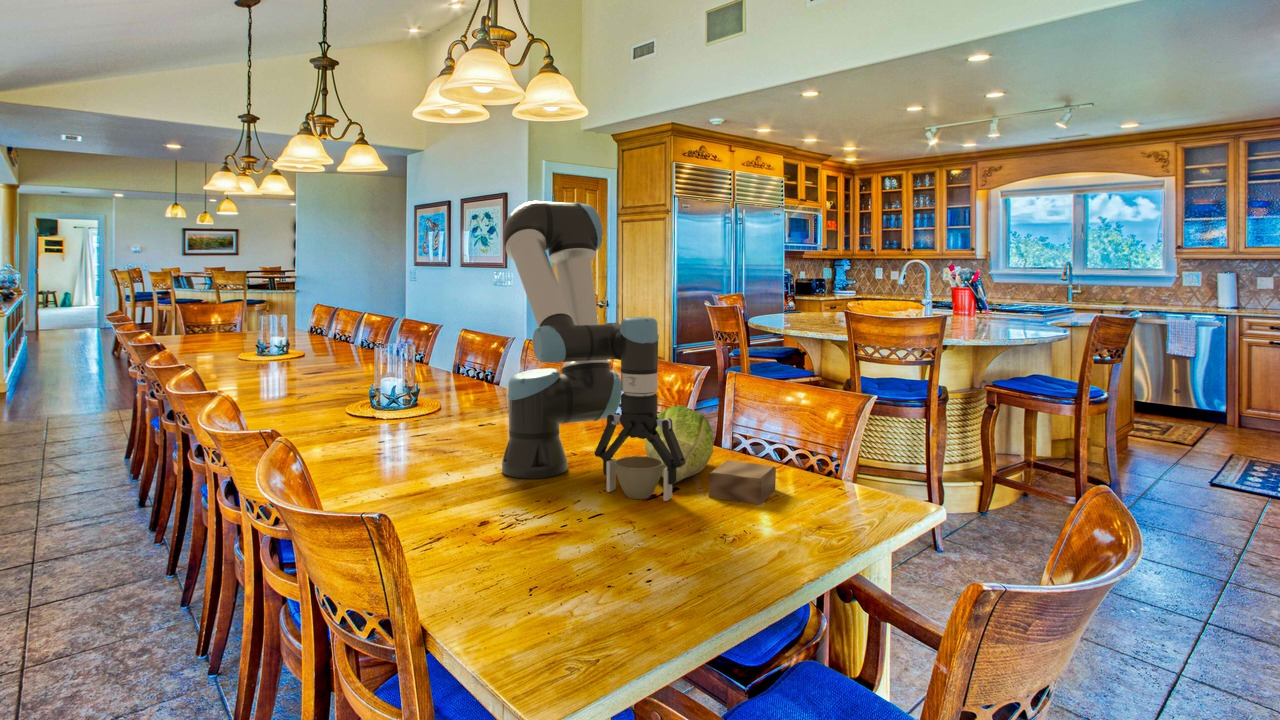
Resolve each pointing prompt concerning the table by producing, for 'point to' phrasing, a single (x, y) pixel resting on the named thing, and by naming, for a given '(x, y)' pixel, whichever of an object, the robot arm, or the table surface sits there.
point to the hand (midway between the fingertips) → (638, 494)
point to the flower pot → (638, 475)
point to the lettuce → (686, 440)
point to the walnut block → (742, 482)
